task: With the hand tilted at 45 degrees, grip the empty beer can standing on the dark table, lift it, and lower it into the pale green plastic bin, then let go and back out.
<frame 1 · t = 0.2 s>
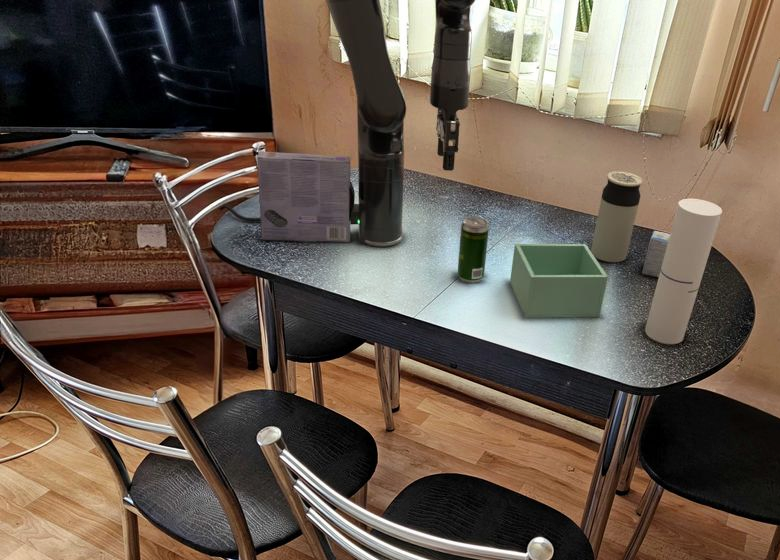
hand: (445, 162, 141), 17 cm above the table, tool pointing down, fingers open, 8 cm apart
medicine box: (660, 275, 147), on the table
bin: (553, 299, 133), on the table
beer can: (470, 278, 138), on the table
travel mug: (608, 256, 153), on the table
cake pan box: (309, 238, 146), on the table
cylindrical container: (663, 334, 127), on the table
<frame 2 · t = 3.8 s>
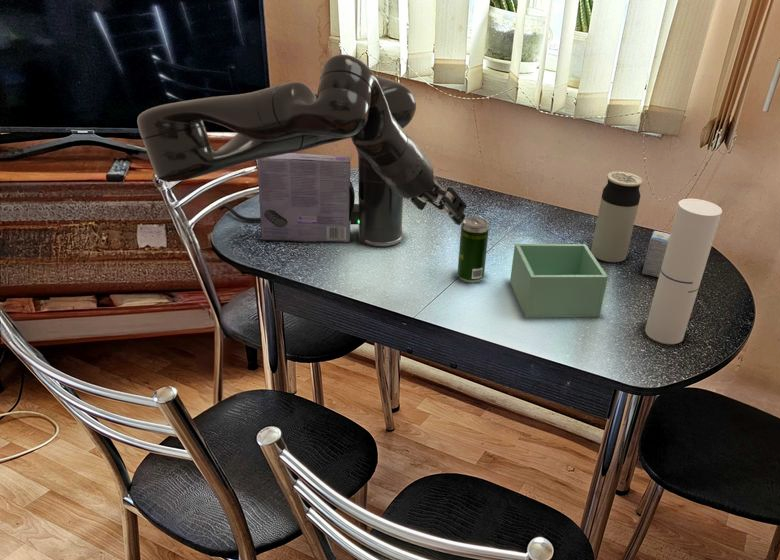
hand: (442, 212, 121), 17 cm above the table, tool tilted 45°, fingers open, 8 cm apart
nothing on the table moved.
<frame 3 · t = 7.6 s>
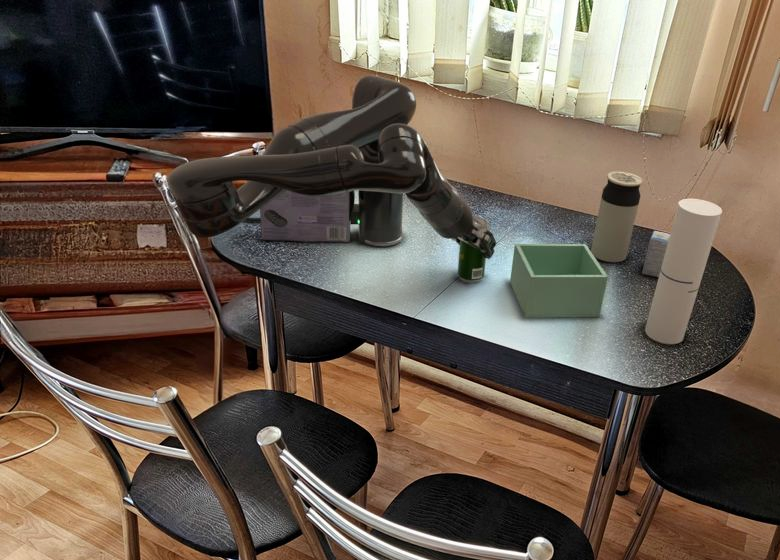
hand: (478, 249, 136), 6 cm above the table, tool tilted 45°, fingers closed on beer can, 5 cm apart
beer can: (470, 278, 138), on the table, touching gripper
everything else where it was.
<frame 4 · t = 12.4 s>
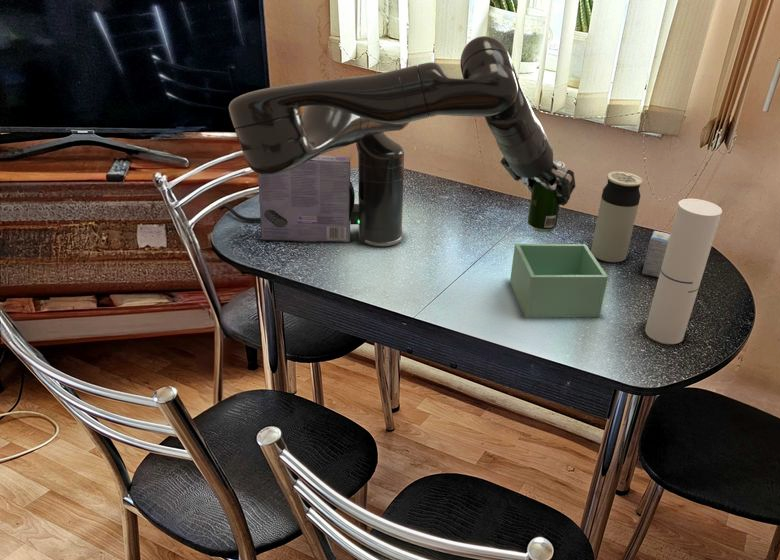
hand: (551, 195, 124), 20 cm above the table, tool tilted 45°, fingers closed on beer can, 5 cm apart
beer can: (541, 227, 126), point 14 cm above the table, touching gripper
everything else where it was.
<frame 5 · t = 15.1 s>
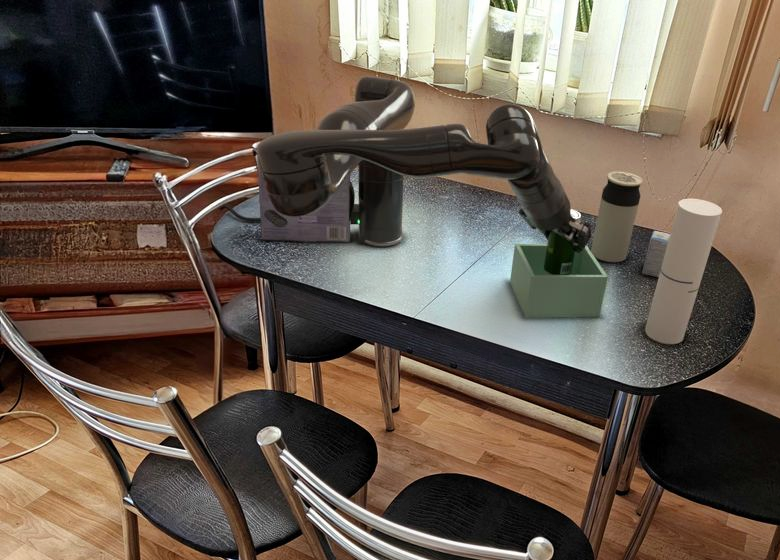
hand: (566, 243, 128), 11 cm above the table, tool tilted 45°, fingers closed on beer can, 5 cm apart
beer can: (556, 273, 130), point 6 cm above the table, touching gripper
everything else where it was.
when the fingers open (6 cm above the table, at t = 17.1 s): beer can stays where it is, resting on bin.
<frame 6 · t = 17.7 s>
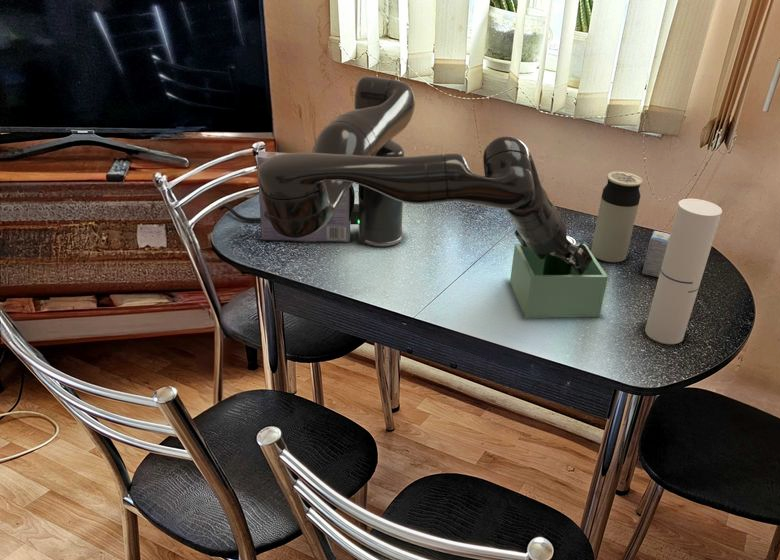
hand: (562, 262, 130), 8 cm above the table, tool tilted 45°, fingers open, 8 cm apart
beer can: (552, 297, 133), resting on bin
everything else where it was.
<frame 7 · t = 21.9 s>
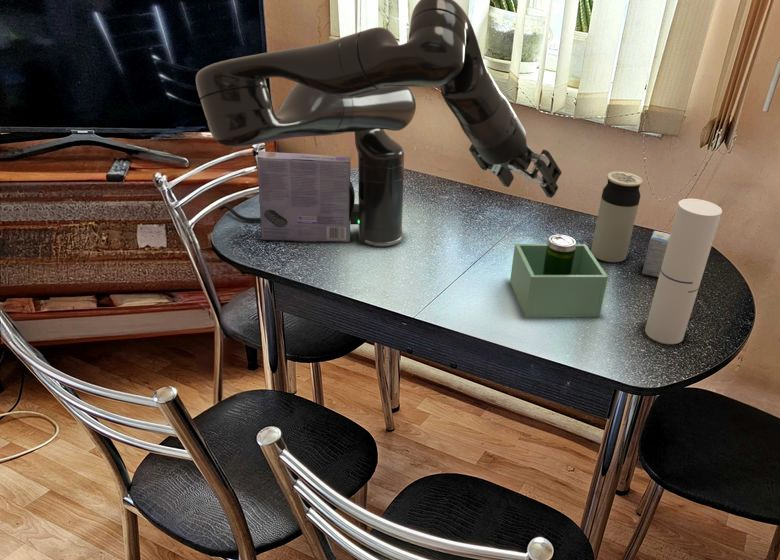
hand: (531, 187, 111), 26 cm above the table, tool tilted 45°, fingers open, 8 cm apart
nothing on the table moved.
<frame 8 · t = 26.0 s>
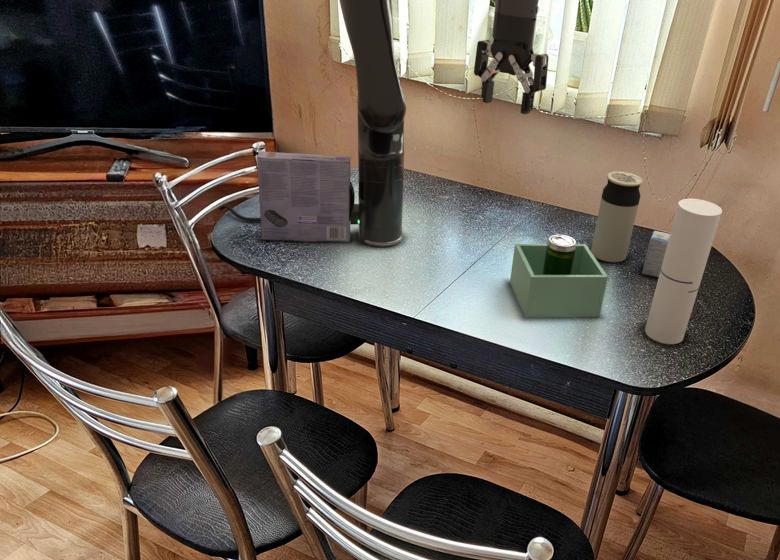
hand: (506, 107, 126), 32 cm above the table, tool pointing down, fingers open, 8 cm apart
nothing on the table moved.
at the end: beer can inside the target area in the bin (0.2 cm from its centre), point 0.4 cm above the bin's base; the gripper is holding nothing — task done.
